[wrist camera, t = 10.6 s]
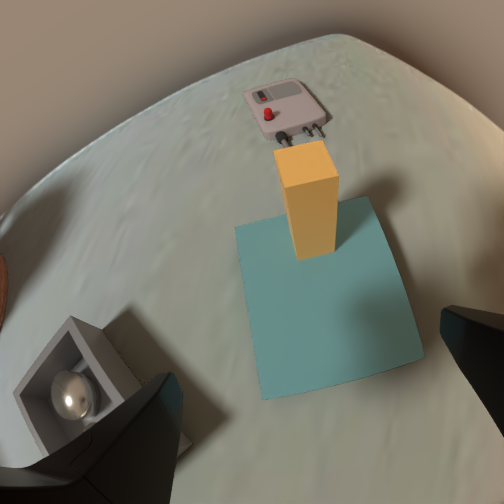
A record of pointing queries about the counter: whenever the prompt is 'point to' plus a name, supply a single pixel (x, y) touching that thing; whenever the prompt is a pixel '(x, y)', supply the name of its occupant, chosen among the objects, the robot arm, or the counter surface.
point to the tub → (79, 360)
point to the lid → (322, 285)
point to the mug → (3, 287)
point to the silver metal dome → (75, 395)
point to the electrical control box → (284, 110)
